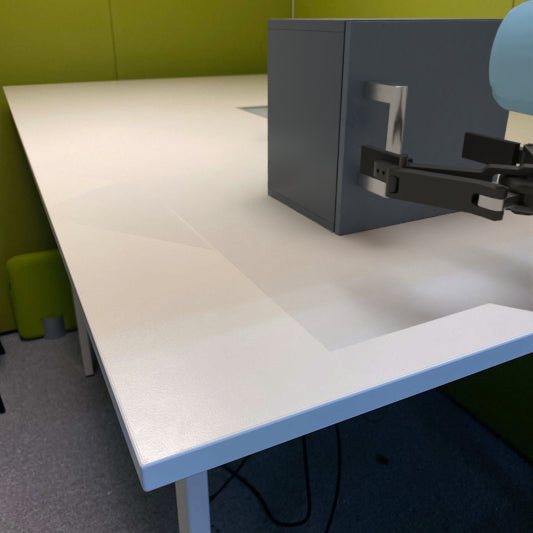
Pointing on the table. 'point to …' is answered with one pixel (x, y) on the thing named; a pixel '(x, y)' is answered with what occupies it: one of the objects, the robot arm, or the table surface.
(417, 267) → the table surface
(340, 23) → the cabinet
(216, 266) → the table surface
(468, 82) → the door
